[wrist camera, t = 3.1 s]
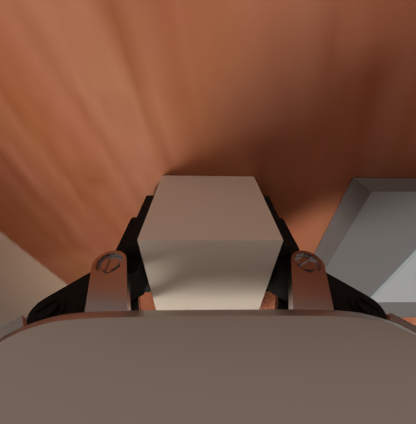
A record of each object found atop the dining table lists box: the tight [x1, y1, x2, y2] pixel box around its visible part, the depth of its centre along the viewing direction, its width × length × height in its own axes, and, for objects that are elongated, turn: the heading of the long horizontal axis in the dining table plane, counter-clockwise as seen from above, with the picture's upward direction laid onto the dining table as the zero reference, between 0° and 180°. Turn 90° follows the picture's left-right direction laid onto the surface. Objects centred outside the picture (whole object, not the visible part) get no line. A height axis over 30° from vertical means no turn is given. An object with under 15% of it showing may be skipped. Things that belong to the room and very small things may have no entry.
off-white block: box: [137, 175, 283, 310], centre depth 10 cm, size 5×5×5 cm
